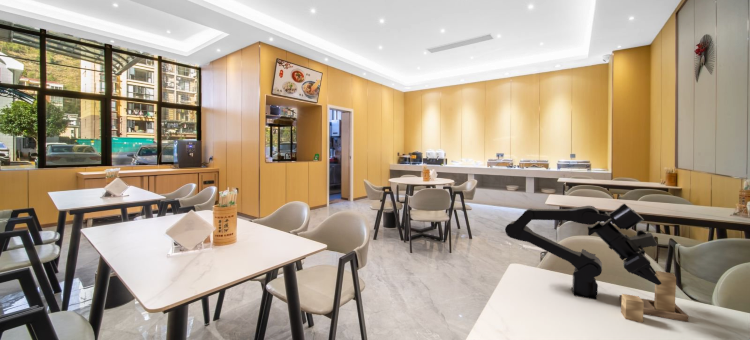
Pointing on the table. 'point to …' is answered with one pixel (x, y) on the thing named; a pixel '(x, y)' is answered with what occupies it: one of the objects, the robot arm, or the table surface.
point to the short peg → (632, 307)
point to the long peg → (665, 292)
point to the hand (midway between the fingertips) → (657, 279)
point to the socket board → (651, 310)
